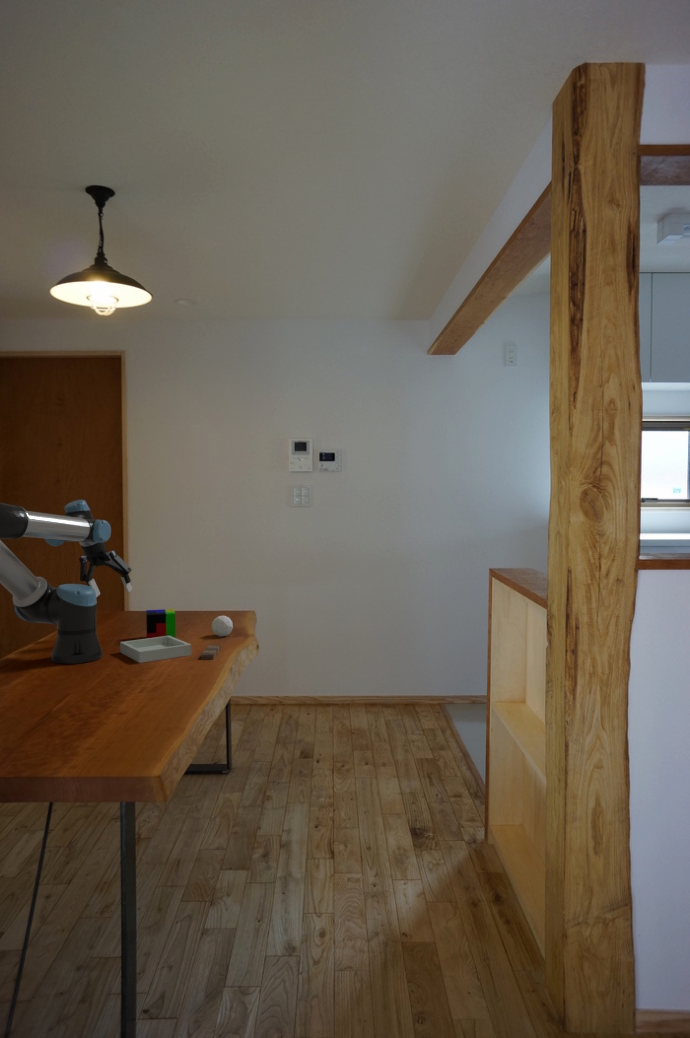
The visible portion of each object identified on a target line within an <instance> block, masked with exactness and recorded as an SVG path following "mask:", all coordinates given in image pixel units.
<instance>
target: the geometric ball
mask: <svg viewBox="0 0 690 1038" xmlns="http://www.w3.org/2000/svg"><path fill="white" fill-rule="evenodd" d="M233 628H234V625H233V620H232V619H231V618H230V617H228V616H226V615H219V616H217V617H216V618H214V619H213V621H212V622H211V631H212V632H213V633H214V635H216V636H218V637H220V638H221V637H228V635H230V633H232V630H233Z"/></svg>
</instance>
